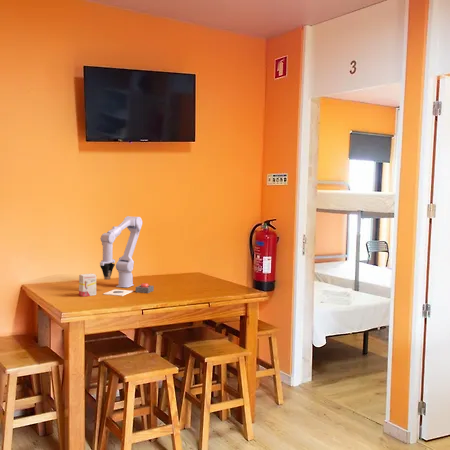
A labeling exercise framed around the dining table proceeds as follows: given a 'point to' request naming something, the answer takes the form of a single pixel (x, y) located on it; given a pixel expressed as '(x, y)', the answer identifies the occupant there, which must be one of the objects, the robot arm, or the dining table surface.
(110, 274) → the grey rounded cylinder
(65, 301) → the dining table surface
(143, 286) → the button
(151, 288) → the button housing
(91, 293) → the ink box
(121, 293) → the paper sheet
